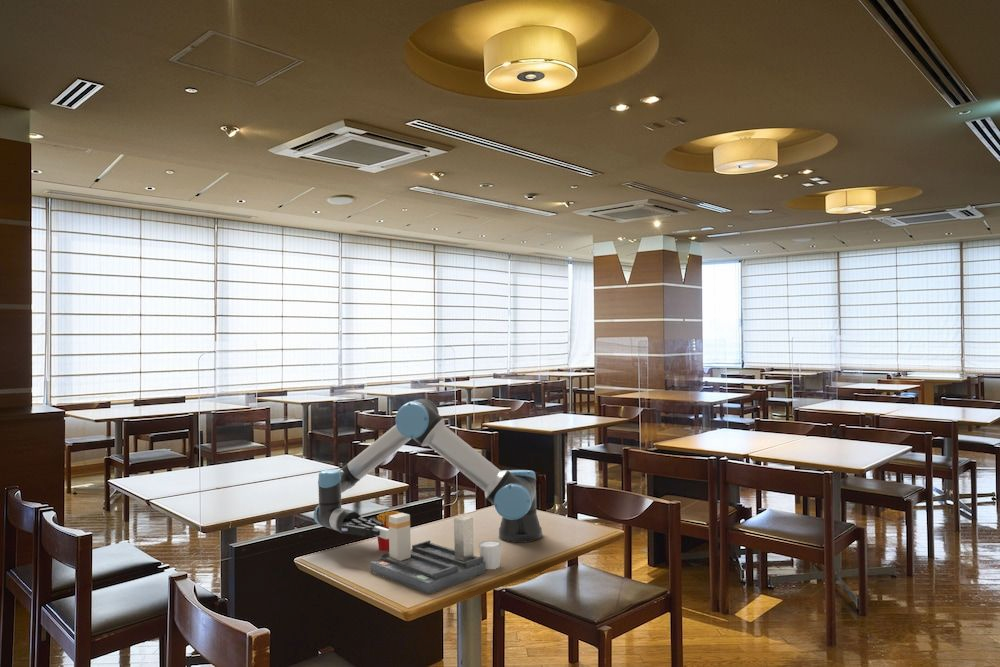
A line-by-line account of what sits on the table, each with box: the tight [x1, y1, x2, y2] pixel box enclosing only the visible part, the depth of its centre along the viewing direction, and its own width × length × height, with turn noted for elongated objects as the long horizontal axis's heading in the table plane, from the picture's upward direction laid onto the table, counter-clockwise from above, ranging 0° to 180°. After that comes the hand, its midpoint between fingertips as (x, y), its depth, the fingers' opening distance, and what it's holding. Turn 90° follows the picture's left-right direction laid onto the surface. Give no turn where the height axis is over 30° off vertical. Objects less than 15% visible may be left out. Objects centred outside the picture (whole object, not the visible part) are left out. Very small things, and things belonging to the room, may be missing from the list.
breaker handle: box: [388, 512, 412, 561], centre depth 201 cm, size 5×4×13 cm
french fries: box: [376, 510, 401, 552], centre depth 222 cm, size 8×4×12 cm, turn 129°
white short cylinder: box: [478, 540, 502, 570], centre depth 201 cm, size 7×7×7 cm
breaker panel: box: [370, 515, 487, 595], centre depth 197 cm, size 22×27×16 cm
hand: (388, 534), depth 205 cm, fingers closed
